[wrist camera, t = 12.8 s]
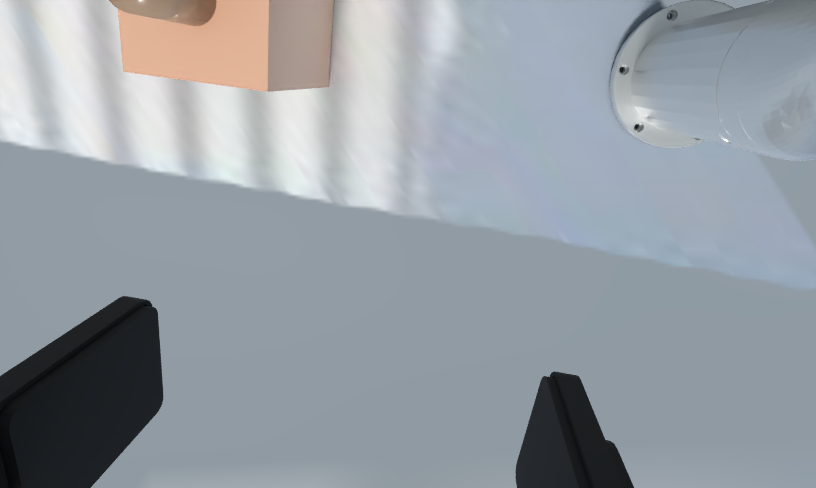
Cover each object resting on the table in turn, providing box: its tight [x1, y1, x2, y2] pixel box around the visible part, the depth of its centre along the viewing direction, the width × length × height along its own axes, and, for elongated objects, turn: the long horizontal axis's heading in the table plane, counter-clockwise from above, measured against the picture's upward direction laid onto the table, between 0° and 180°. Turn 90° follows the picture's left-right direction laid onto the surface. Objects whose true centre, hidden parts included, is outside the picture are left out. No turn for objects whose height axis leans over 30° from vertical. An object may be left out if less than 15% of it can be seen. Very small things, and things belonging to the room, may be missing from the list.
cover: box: [109, 0, 334, 92], centre depth 34 cm, size 10×10×22 cm
